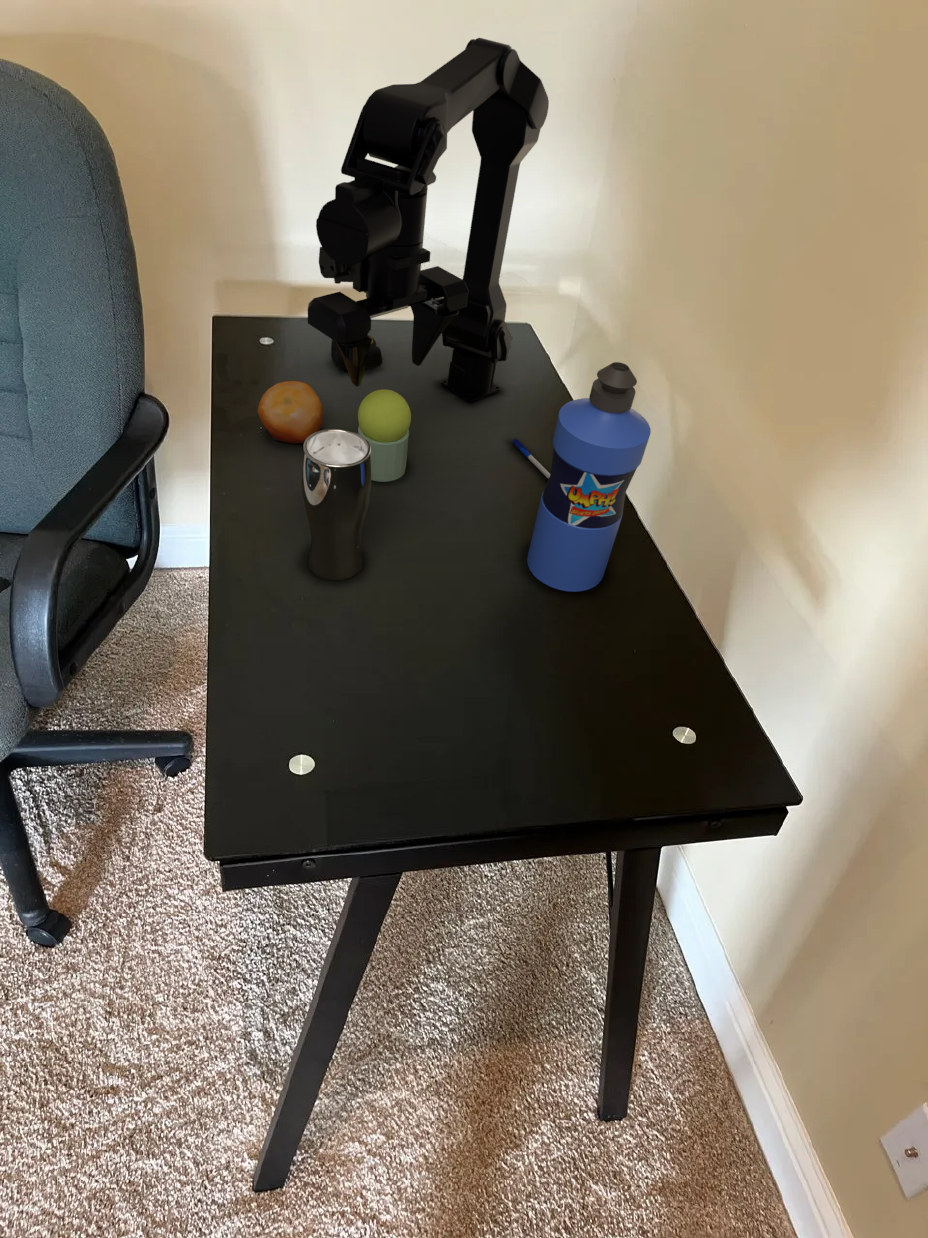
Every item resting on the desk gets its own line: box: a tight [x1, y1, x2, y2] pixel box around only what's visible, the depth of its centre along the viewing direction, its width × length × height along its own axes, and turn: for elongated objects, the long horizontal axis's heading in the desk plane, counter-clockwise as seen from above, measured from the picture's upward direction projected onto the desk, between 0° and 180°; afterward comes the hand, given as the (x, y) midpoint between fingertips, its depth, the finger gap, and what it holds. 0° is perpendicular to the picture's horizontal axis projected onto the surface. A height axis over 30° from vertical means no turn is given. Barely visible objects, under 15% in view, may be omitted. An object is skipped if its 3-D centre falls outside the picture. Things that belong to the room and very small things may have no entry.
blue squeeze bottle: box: [526, 361, 652, 593], centre depth 87 cm, size 9×9×25 cm
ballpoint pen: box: [512, 437, 551, 479], centre depth 109 cm, size 10×1×1 cm, turn 32°
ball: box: [357, 388, 412, 442], centre depth 100 cm, size 6×6×6 cm
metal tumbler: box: [301, 428, 372, 581], centre depth 86 cm, size 7×7×15 cm
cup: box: [357, 424, 410, 483], centre depth 103 cm, size 6×6×6 cm
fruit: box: [257, 380, 324, 444], centre depth 106 cm, size 8×8×8 cm
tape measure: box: [330, 333, 384, 370], centre depth 122 cm, size 7×7×4 cm
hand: (386, 374), depth 96 cm, fingers open, 9 cm apart
